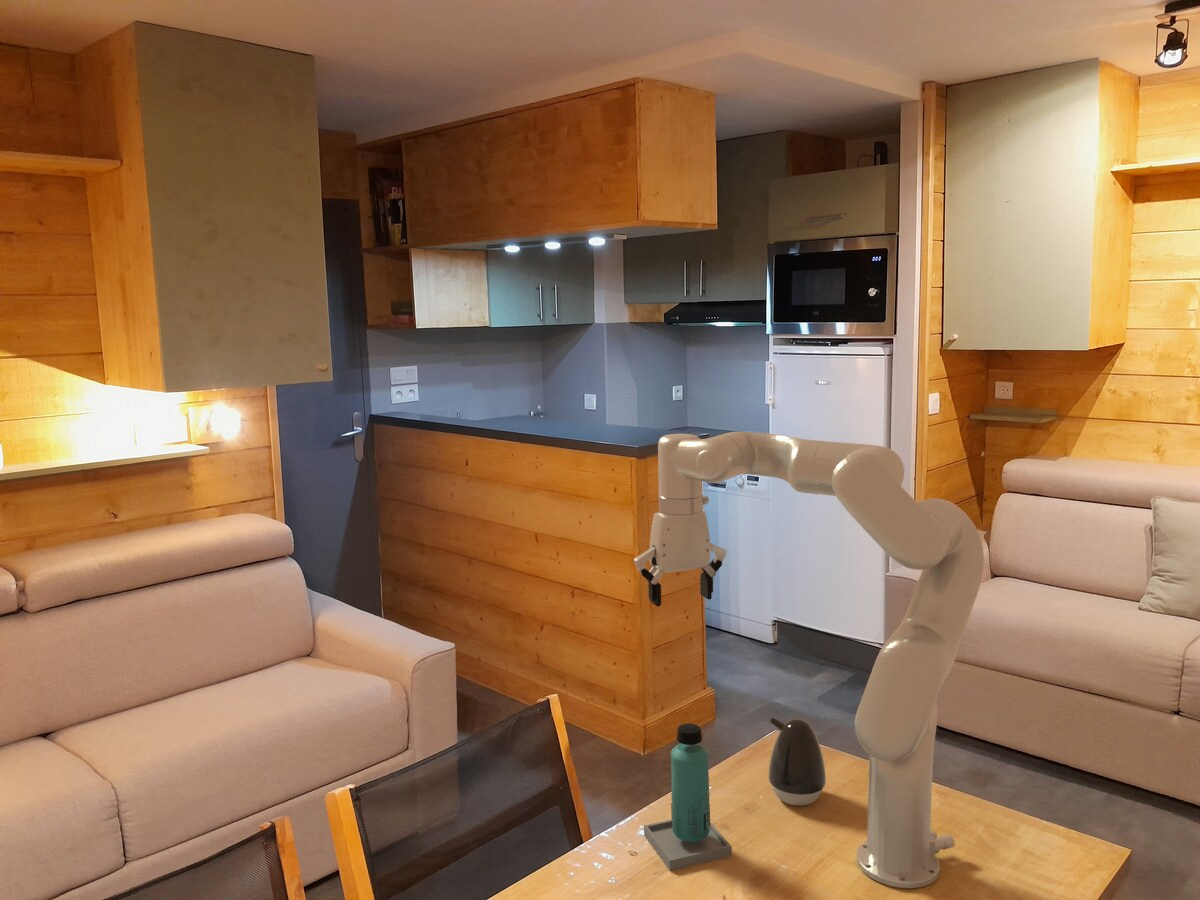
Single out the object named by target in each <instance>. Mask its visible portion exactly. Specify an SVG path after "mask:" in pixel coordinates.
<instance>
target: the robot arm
mask: <svg viewBox="0 0 1200 900" xmlns="http://www.w3.org/2000/svg"><path fill="white" fill-rule="evenodd" d="M657 458H658V459H657V461H658V462H657V465H658V466H657V471H658V473H657V476H658V478H657V479H658V512H655V513H654V514H653V517H652V523H651V527H650V528H651V529H650V535H649V536H650V538H649V539H650V541H649V548H648V549H646V550H645V551H644V552H643V553H641V554H639V555H637V556H636V557H635V558H634V559H633V564H634V565H635V568H636V569H637V571H638V574H640V575H641V576H642V577H643V578H644V579H645V580H646V581H647V582H648V583H647V584H648V599H649V601H650V602H651V604H653V605H654V606H655V607H660V606H662V585H661V583H659V581H660V580H661V578H662V577H663V575H664V574H665V573H675V572H683V571H690V570H691V571H693V570H698V569H700V570H701V571H702V573H701V574H700V576H699V577H700V579H699V580H700V583H699V584H700V585H699V586H700V587H699V589H700V590H699V591H700V593H699V594H700V596H701V597H703V598H705V599H706V600H708V601H709V600H712V597H713V595H712V594H713V592H714V578H715V577H716V575H717V572H718V571H719V569H720V568H721V567H722V566H723V561H724V560H725V558H726V555H727V553H728V552H727V550H726V549H725V548H722V547H720V546H719V545H715V544H714V543H711V540H710V539H711V538H710V530H709V523H708V519H707V515H706V512H705V511H704V505H708V504H709V503H710V499H709V497H708V496H704V495H703V482H704V483H708V484H716V483H717V484H718V483H722V482H725V481H727V480H731V479H732V478H735V477H738V476H740V475H749V476H750V475H752V476H759V477H760V476H763V477H770V478H774V479H780V480H783V481H785V482H787V483H789V485H790V486H791V488H792V489H793V490H795V491H796V492H798V493H803V494H813V495H823V496H832V497H836V498H837V499H838V501H839V503H840V504H841V505H842V506H843V508H844V509H845V510H846V511H847V512H848V513H849V515H850V516H851V517H852V518H853V519H854V520H855V522H857V524H859V525H860V527H861V528H862V529H863V530H864V531H865V532H866V533H867V534H868V536H870V537H871V538H872V540H874V541H875V542H876V544H877V545H878V546H879V547H880V548H881V549H882V550H883V551H884V552H885V553H886V554H887V555H888V556H889V557H890V558H891V559H892V560H893V561H895V562H896V563H897V564H899V565H900V566H902V567H905V568H907V569H911V570H917V571H918V570H919V571H921V573H920V575H919V578H918V579H917V582H916V585H915V587H914V591H913V593H912V597H911V600H910V602H909V604H908V607H907V609H906V612H905V615H904V616H903V619H902V621H901V623H900V624H899V625H898V627H897V628H896V629H895V630H894V631H893V633H892V634H891V635H890V636H889V637H888V639H886V641H885V643H884V644H883V645H882V647H881V648H880V650H879V652H878V655H877V657H876V658H875V661H874V664H873V667H872V670H871V673H870V675H869V678H868V680H867V683H866V686H865V688H864V690H863V693H862V697H861V700H860V702H859V705H858V708H857V710H856V714H855V719H854V730H855V735H856V739H857V740H858V743H859V745H860V746H861V748H863V750H864V751H865V752H866V753H867V754H868V755H869V759H868V761H869V762H868V763H869V764H868V786H867V787H868V791H867V792H868V793H867V795H868V796H867V801H868V802H867V834H866V835H867V836H866V838H867V839H866V841H865V842H863V843H861V844H860V845H859V847H858V849H857V851H856V862H857V865H858V866H859V868H860V870H861V871H862V872H863V873H864V874H865V875H867V876H868V877H869V878H871V879H872V880H874V881H876V882H878V883H881V884H882V885H886V886H889V887H893V888H900V889H918V888H922V887H923V888H924V887H926V886H929V885H930V884H932V883H933V882H935V881H936V880H937V879H938V877H939V875H940V862H939V859H938V858H937V857H936V854H939V852H940V851H942V850H946V849H951V848H954V847H955V839H954V837H953V836H951V835H950V834H947V835H946V834H945V835H941V836H939V837H938V835H937V832H936V831H935V830H933V829H932V830H931V823H932V820H931V818H932V817H931V816H932V813H931V812H932V795H933V794H932V792H933V791H932V790H933V772H934V771H933V766H934V750H935V742H936V741H935V740H936V734H937V733H936V732H937V724H938V714H939V713H938V711H939V710H938V703H937V697H938V695H939V693H940V690H941V688H942V685H944V682H945V681H946V679H947V676H948V675H949V673H950V672H951V671H952V669H953V667H954V664H955V661H956V657H957V653H958V649H959V646H960V643H961V640H962V638H963V635H964V632H965V630H966V627H967V624H968V622H969V620H970V616H971V613H972V611H973V607H974V604H975V602H976V599H977V596H978V594H979V590H980V587H981V583H982V579H983V574H984V569H985V568H984V564H985V558H984V557H985V556H984V555H985V554H984V548H983V547H984V546H983V542H982V539H981V536H980V533H979V531H978V529H977V527H976V525H975V524H974V522H973V521H972V519H971V518H970V517H969V516H968V514H967V513H966V512H965V511H963V509H962V508H960V507H959V506H958V505H956V504H955V503H953V502H952V501H949V500H946V499H942V498H937V497H935V498H934V497H933V498H927V499H924V500H920V501H918V502H917V501H916V500H915V499H914V498H913V497H912V496H911V495H910V494H909V493H908V492H907V491H906V490H905V489H904V488H903V486H902V485H903V482H904V478H905V467H904V466H905V465H904V463H903V460H902V457H900V455H899V454H897V452H895V451H894V450H892V449H890V448H889V447H886V446H881V445H875V444H867V443H866V444H864V443H853V442H852V443H851V442H841V441H840V442H838V441H837V442H836V441H825V440H817V439H816V440H813V439H806V438H799V437H793V436H787V435H783V434H777V433H776V434H773V433H764V432H752V431H751V432H750V431H730V432H726V433H723V434H718V435H716V436H712V437H707V438H702V439H701V438H700V437H699V436H698V435H696V434H692V433H691V434H690V433H671V434H665V435H662V436H661V437H660V438H659V440H658V443H657ZM711 552H713V553H714V554H715V555H714V558H713V559H712V560H711V558H712V556H711V554H712V553H711ZM648 561H649V565H650V566H652V567H651V568H650V570H648V569H647V567H646V563H647V562H648Z"/></svg>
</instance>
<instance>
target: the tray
mask: <svg viewBox="0 0 1200 900" xmlns="http://www.w3.org/2000/svg"><path fill="white" fill-rule="evenodd" d="M671 823H672V818H671V819H668V820H663V821H659V822H654V823H653V822H652V823H650V824H645V825H643V836H644V837H645V838H646V840H647V841H648V842H649V844H650V846H651V847H652V848H653V850H654V851H655V852H656V854H657V855H658V857H659V858H660V859H661V860H662V862H663V863H664V865H665V866H666V867H667V869H668V870H669V871H670V872H671V871H676V870H680V869H684V868H688V867H693V866H697V865H701V864H705V863H709V862H714V861H717V860H718V861H719V860H722V859H726V858H730V856H731V857H732V845H731V844H730V843H729V842H728V841H727V839H726V838H725V837H724V836H723V835H722V834H721V833H720V831H719V830H718V829H717V828H716V827H715V825H714V824H713V823H712V822H711V821H710V828H711V829H710V830H709V831H710V832H709V834H708V836H707V837H706V838H705V839H703V840H700V841H695V842H689V841H684V840H681V839H679V838H677V837H676V836H675V835H674V833H673V829H672V827H671V826H672V824H671ZM725 857H726V858H725Z"/></svg>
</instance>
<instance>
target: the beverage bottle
mask: <svg viewBox="0 0 1200 900" xmlns="http://www.w3.org/2000/svg"><path fill="white" fill-rule="evenodd" d="M676 741H677V742H678V744H677V745H676V746H674V747H673V748H672V750H671V752H670V757H671V758H670V759H671V760H670V761H671V762H670V765H671V766H670V768H671V782H670V783H671V790H670V793H671V798H670V799H671V803H670V809H671V811H670V812H671V813H670V814H671V819H672V823H671V824H672V826H671V827H672V829H673V833H674V835H675V836H676V837H677V838H679V839H681V840H684V841H689V842H695V841H700V840H703V839H705V838H706V837H707V836H708V834H709V832H710V831H709V830H710V829H711V828H710V822H711V809H710V808H711V804H710V803H711V800H710V797H711V792H710V780H709V779H710V773H709V757H710V755H709V750H708V749H707V748H706V747H705V746H703V745H702V744H701V742H702V741H703V735H702V729H701V727H700V726H699V725H698V724H694V723H682V724H680V725H679V726H678V727H677V731H676Z"/></svg>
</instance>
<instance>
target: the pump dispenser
mask: <svg viewBox="0 0 1200 900" xmlns="http://www.w3.org/2000/svg"><path fill="white" fill-rule="evenodd" d="M769 722H770V723H771V724H772V725H773V726H775V728H777V729H778V730H779V733H778V735H777V737H776V738H775V739H776V740H775V742H774V745H773V747H772V751H771V755H770V760H769V765H768V766H769V767H768V781H769V783H770V784H771V788H772V791H773V792H774V793H773V794H775V795H776V797H778V799H779V800H780V801H782V802H784V803H785V804H788V805H792V806H796V807H797V806H798V807H799V806H800V807H801V806H807V805H810V804H811V805H812V804H813V803H814V802H816V800H818V799H819V797H821V794H822V792H823V789H824V788H825V786H826V782H827V781H826V778H827V777H826V768H825V762H824V756H823V752H822V748H821V746H820V742H819V740H818V737H817V734H816V732H815V731H814V729H813V728H812V725H810V723H808V721H806V720H803V719H802V718H792V719H790V720H788V721H786V723H784V722H782V721H780V720H778V719H777V718H775V717H771V718H770V719H769Z"/></svg>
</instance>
